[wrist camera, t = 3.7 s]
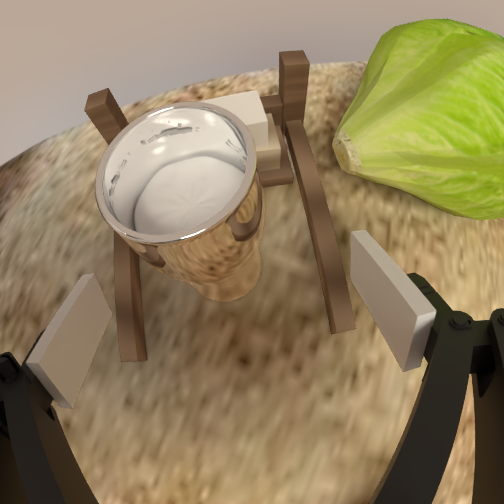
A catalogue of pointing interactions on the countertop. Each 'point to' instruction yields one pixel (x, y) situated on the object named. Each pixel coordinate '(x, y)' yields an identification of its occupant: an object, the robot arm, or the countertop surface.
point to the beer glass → (187, 196)
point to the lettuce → (431, 117)
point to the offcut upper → (247, 113)
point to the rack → (320, 224)
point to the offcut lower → (269, 149)
